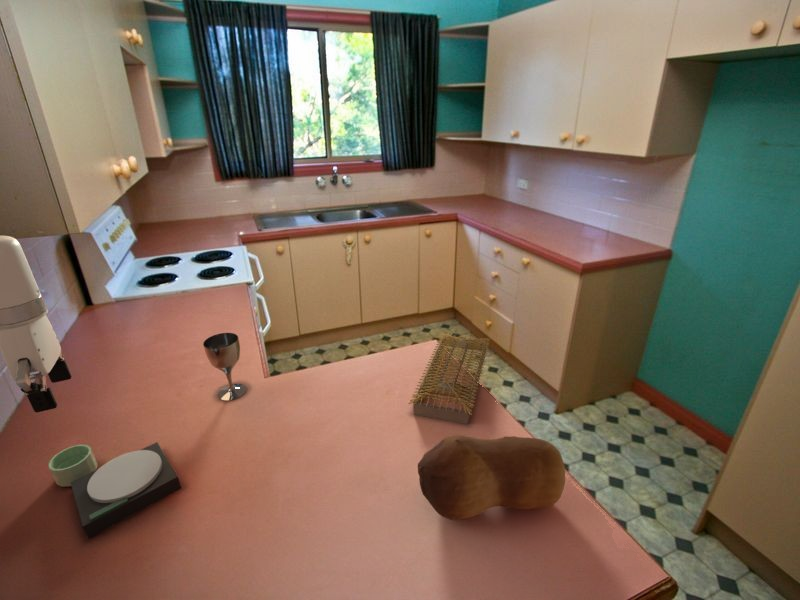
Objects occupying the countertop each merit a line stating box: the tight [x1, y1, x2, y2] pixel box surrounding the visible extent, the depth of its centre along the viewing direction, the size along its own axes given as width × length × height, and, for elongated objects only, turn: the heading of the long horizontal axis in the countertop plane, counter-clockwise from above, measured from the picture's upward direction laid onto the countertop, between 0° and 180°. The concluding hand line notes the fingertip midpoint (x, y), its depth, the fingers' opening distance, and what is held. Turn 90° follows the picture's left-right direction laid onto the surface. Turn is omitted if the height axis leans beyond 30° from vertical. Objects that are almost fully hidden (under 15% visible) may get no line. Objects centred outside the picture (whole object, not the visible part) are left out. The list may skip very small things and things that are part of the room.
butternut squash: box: [417, 434, 566, 521], centre depth 74 cm, size 14×13×25 cm
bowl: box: [47, 444, 99, 487], centre depth 84 cm, size 7×7×5 cm
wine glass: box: [202, 332, 248, 402], centre depth 105 cm, size 8×8×15 cm
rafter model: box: [408, 332, 491, 425], centre depth 110 cm, size 35×14×6 cm, turn 162°
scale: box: [70, 441, 182, 540], centre depth 80 cm, size 15×13×4 cm
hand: (54, 394), depth 78 cm, fingers open, 9 cm apart
